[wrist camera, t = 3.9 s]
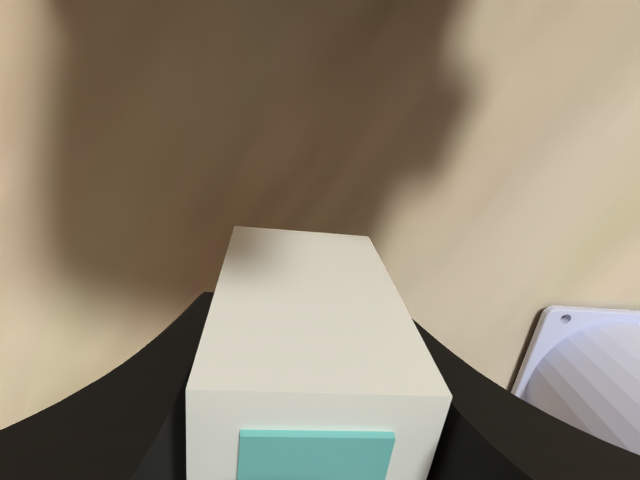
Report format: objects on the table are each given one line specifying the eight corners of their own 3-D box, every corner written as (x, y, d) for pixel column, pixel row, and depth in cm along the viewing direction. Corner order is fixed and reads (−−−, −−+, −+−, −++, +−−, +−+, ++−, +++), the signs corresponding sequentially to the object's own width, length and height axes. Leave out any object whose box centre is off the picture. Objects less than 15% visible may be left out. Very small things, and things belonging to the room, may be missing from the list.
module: (368, 236, 12) (455, 403, 6) (347, 356, 14) (398, 580, 8) (234, 225, 12) (183, 396, 6) (229, 351, 13) (186, 587, 7)
